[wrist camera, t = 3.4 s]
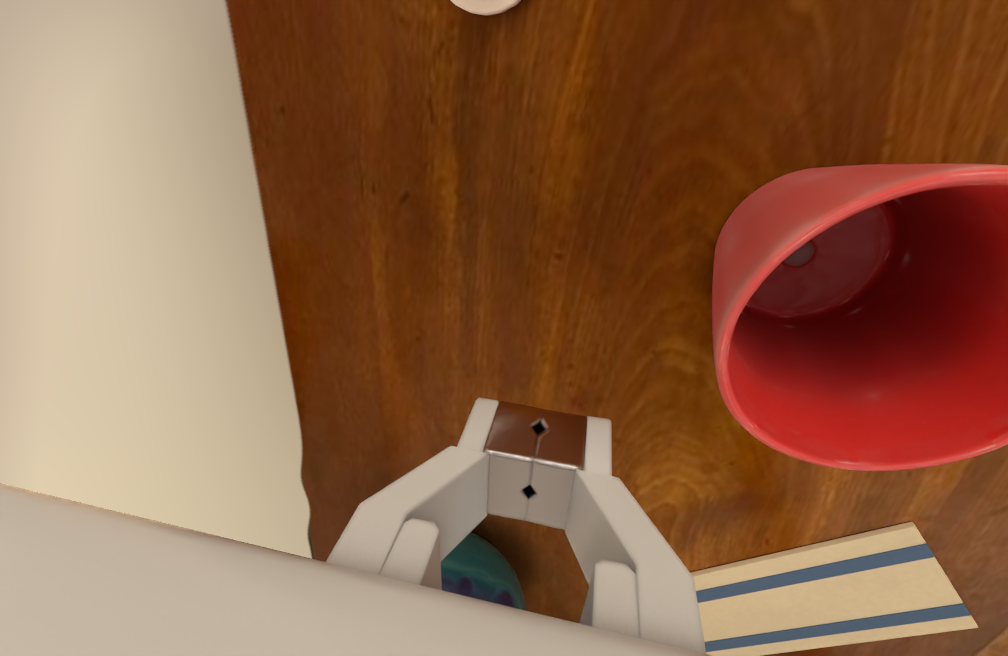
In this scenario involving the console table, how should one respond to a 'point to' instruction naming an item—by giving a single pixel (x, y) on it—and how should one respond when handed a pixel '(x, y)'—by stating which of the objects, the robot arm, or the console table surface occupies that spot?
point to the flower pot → (867, 314)
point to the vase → (481, 573)
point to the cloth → (828, 595)
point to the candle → (486, 6)
